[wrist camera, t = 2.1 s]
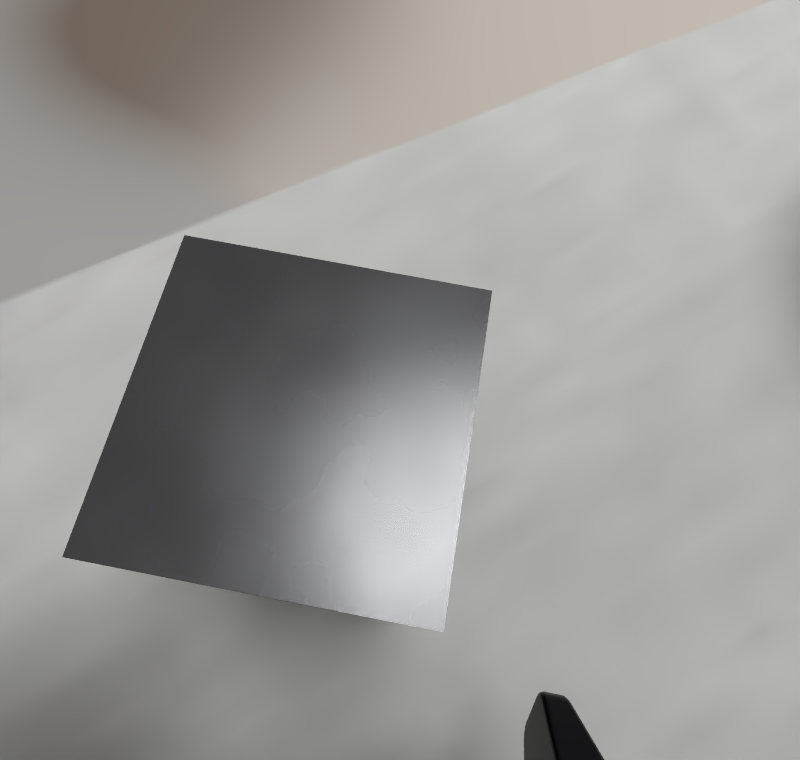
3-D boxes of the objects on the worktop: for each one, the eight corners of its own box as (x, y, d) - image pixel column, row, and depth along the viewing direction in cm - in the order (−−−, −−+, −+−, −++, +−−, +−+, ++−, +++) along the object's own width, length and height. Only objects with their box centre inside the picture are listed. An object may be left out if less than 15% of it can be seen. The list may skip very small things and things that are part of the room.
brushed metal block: (403, 600, 19) (443, 632, 7) (250, 570, 19) (62, 557, 8) (429, 448, 21) (491, 290, 9) (289, 422, 21) (184, 235, 10)
